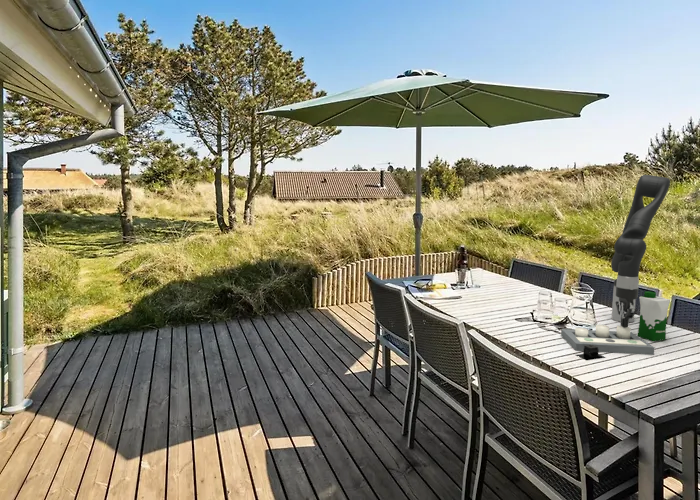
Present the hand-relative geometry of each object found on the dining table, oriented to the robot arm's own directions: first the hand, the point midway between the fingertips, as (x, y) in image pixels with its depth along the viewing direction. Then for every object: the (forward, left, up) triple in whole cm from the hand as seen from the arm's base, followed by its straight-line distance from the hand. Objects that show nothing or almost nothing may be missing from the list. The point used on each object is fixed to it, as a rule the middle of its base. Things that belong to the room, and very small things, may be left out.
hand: (624, 326), depth 164 cm
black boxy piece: (+16, -19, -8) cm, 26 cm away
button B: (0, -8, -5) cm, 10 cm away
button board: (+2, -8, -7) cm, 11 cm away
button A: (0, 0, -5) cm, 5 cm away
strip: (+7, -8, -4) cm, 12 cm away
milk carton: (-9, +15, -8) cm, 19 cm away
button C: (0, -16, -7) cm, 18 cm away
